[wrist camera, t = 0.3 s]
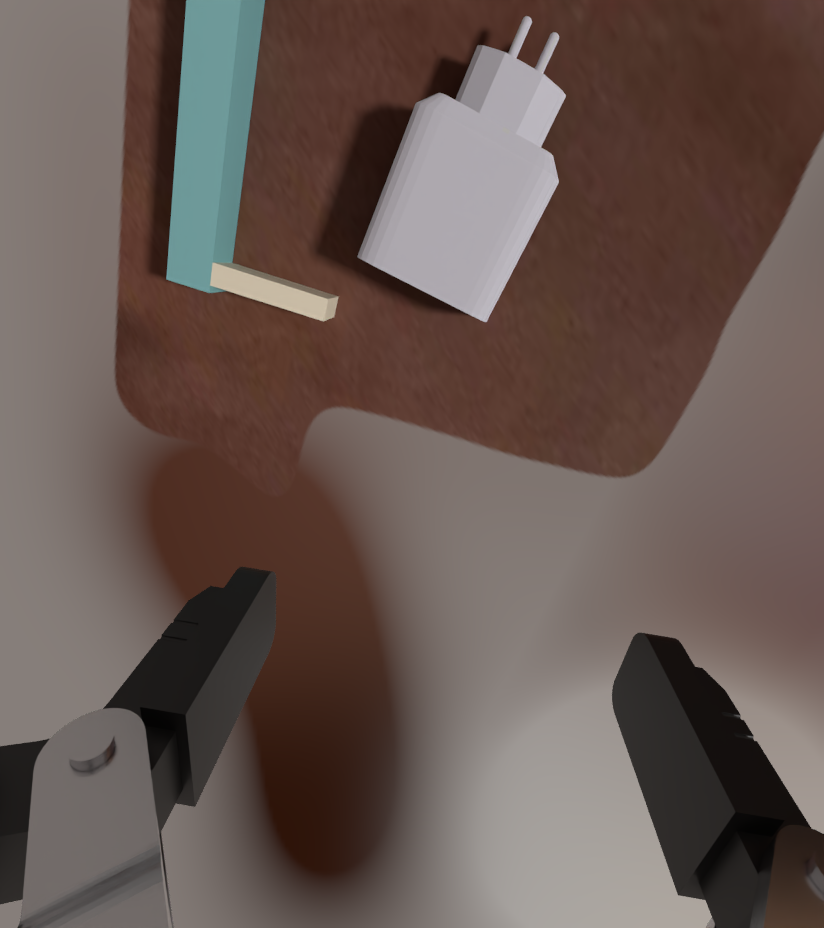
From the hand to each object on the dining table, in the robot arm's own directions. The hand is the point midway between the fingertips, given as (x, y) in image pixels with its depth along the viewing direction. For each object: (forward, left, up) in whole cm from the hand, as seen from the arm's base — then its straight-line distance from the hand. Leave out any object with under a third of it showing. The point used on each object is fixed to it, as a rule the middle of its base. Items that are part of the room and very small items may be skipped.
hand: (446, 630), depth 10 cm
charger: (-13, -3, -28) cm, 31 cm away
